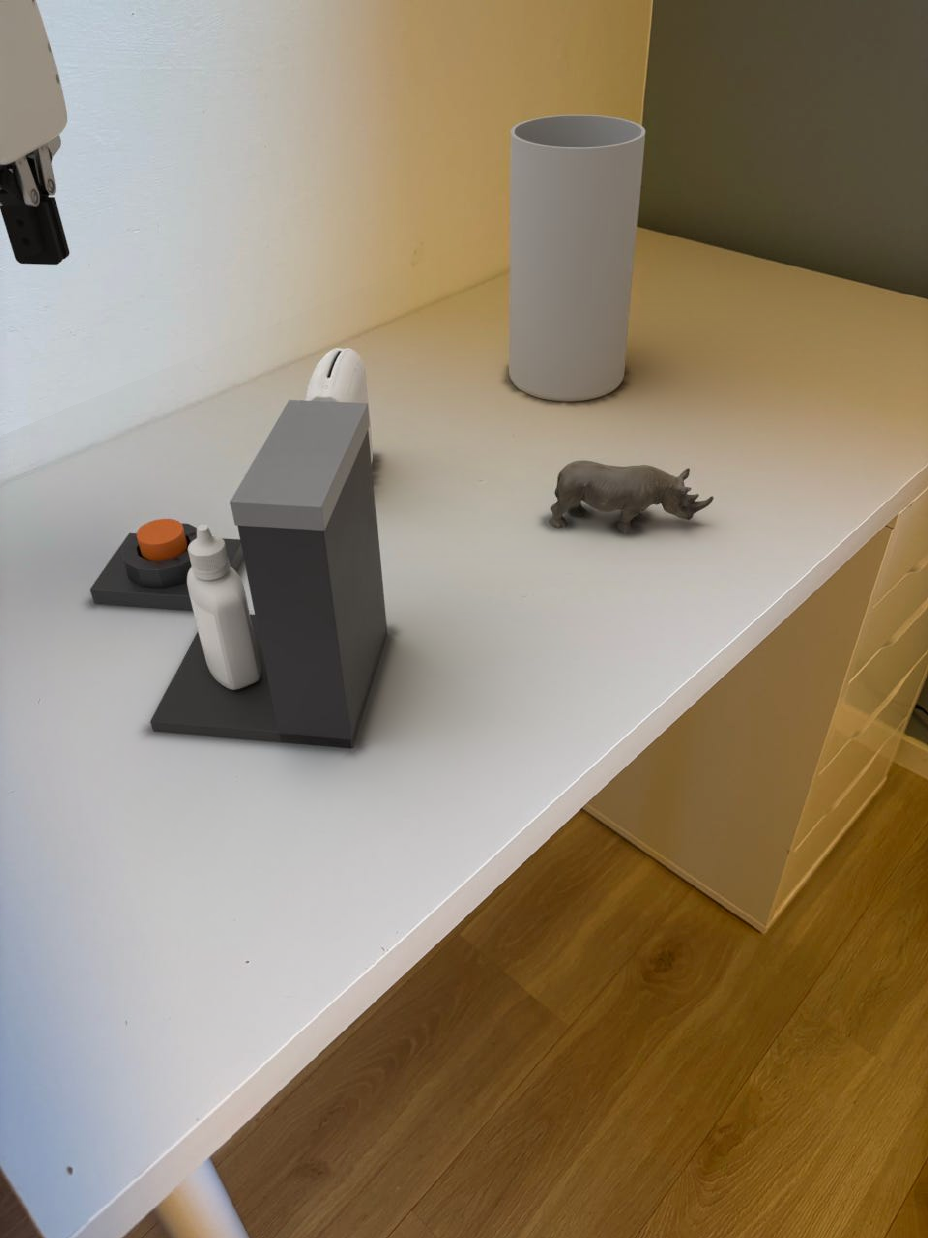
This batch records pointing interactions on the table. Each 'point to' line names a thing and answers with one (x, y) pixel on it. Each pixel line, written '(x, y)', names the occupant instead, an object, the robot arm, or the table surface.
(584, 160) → the cylinder vase
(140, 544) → the button
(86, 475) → the table surface
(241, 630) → the eye dropper bottle
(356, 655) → the coffee maker
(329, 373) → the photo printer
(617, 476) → the rhino figurine
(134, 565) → the control pad
